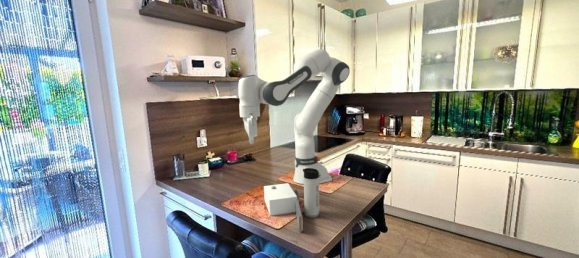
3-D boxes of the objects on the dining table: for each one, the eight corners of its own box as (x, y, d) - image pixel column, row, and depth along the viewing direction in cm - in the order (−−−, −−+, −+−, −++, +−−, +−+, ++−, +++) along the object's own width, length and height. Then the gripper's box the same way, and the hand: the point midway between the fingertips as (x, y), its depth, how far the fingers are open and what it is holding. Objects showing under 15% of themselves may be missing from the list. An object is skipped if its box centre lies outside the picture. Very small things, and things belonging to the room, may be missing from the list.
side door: (295, 211, 107) (295, 198, 106) (298, 211, 107) (298, 198, 106) (299, 231, 91) (298, 216, 90) (302, 231, 91) (302, 216, 90)
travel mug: (302, 211, 108) (301, 167, 104) (317, 210, 108) (317, 166, 105) (304, 218, 102) (303, 171, 98) (320, 217, 102) (320, 171, 99)
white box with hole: (292, 196, 123) (291, 181, 122) (301, 211, 108) (301, 194, 107) (264, 199, 120) (263, 185, 119) (270, 215, 104) (269, 199, 103)
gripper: (260, 114, 100) (261, 147, 102) (254, 110, 119) (255, 138, 121) (244, 115, 98) (246, 149, 100) (241, 111, 118) (242, 139, 120)
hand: (251, 143), depth 111 cm, fingers closed
